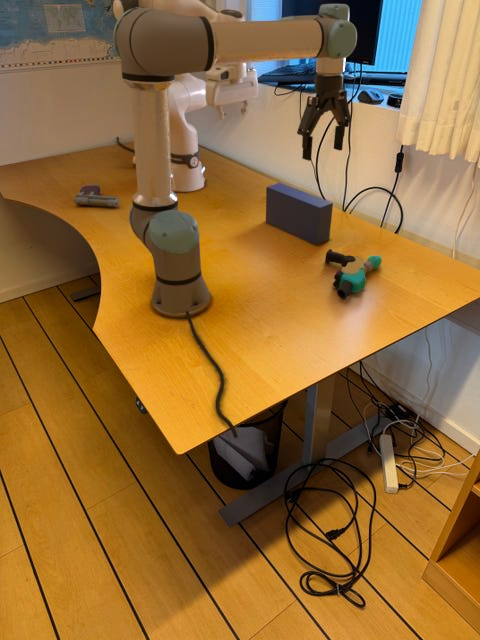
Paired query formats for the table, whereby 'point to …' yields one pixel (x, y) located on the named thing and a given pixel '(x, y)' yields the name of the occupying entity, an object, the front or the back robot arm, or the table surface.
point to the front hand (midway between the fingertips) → (322, 154)
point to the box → (298, 213)
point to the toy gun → (94, 197)
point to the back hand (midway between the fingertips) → (233, 116)
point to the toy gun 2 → (351, 272)
